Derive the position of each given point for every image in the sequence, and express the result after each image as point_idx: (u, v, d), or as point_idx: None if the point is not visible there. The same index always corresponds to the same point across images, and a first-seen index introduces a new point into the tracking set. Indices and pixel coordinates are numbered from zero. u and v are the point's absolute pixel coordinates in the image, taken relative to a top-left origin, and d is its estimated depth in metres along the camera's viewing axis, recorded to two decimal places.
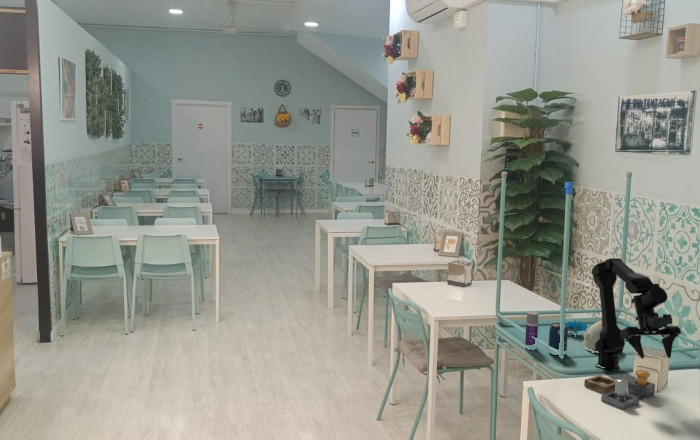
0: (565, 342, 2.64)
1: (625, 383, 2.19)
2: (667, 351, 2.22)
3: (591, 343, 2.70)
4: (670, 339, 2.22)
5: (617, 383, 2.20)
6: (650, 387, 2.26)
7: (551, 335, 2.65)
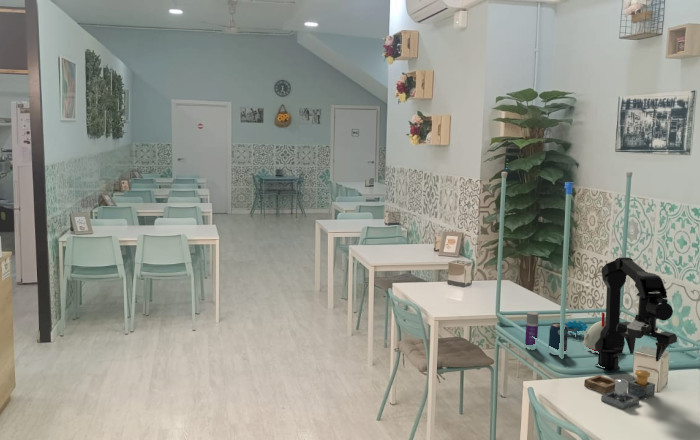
0: (565, 342, 2.64)
1: (625, 383, 2.19)
2: None
3: (591, 343, 2.70)
4: (657, 346, 2.20)
5: (617, 383, 2.20)
6: (650, 387, 2.26)
7: (551, 335, 2.65)
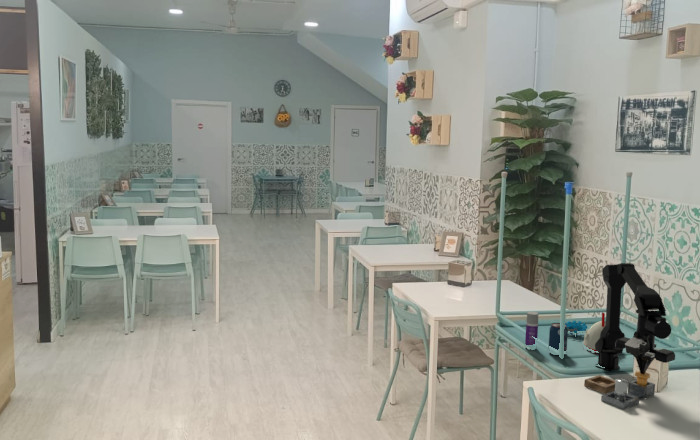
0: (565, 342, 2.64)
1: (625, 383, 2.19)
2: None
3: (591, 343, 2.70)
4: (643, 359, 2.25)
5: (617, 383, 2.20)
6: (650, 387, 2.26)
7: (551, 335, 2.65)
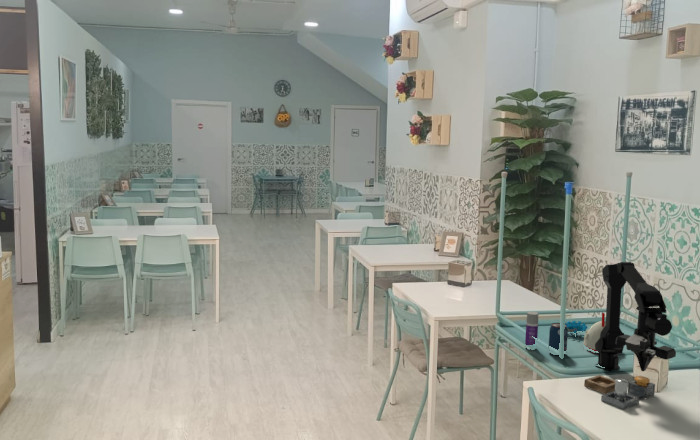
0: (565, 342, 2.64)
1: (625, 383, 2.19)
2: None
3: (591, 343, 2.70)
4: (643, 356, 2.24)
5: (617, 383, 2.20)
6: (650, 387, 2.26)
7: (551, 335, 2.65)
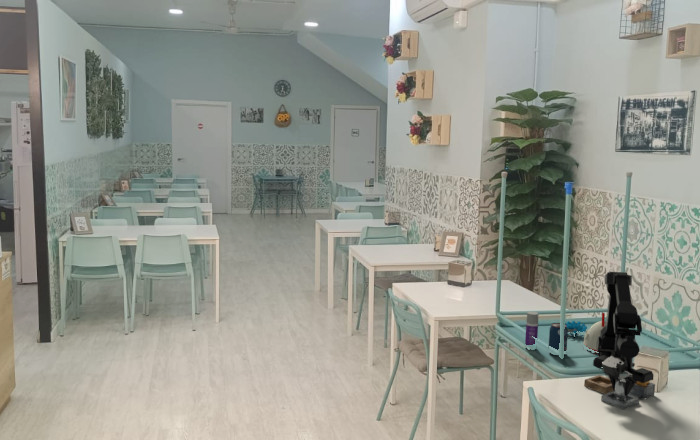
0: (565, 342, 2.64)
1: (625, 383, 2.19)
2: None
3: (591, 343, 2.70)
4: (626, 380, 2.17)
5: (617, 383, 2.20)
6: (650, 387, 2.26)
7: (551, 335, 2.65)
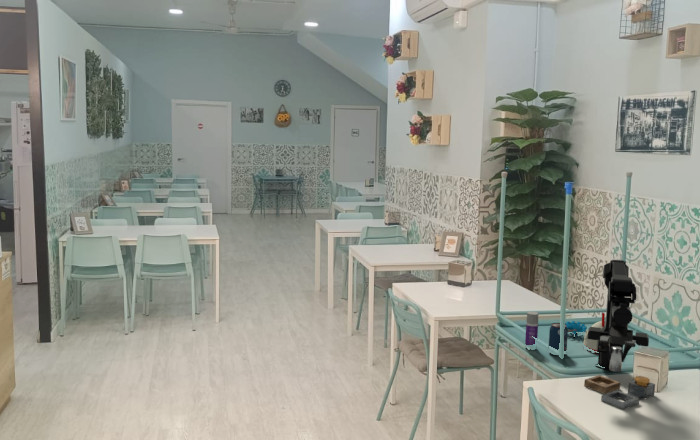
0: (565, 342, 2.64)
1: (622, 350, 2.23)
2: None
3: (591, 343, 2.70)
4: (626, 347, 2.21)
5: (616, 351, 2.22)
6: (650, 387, 2.26)
7: (551, 335, 2.65)
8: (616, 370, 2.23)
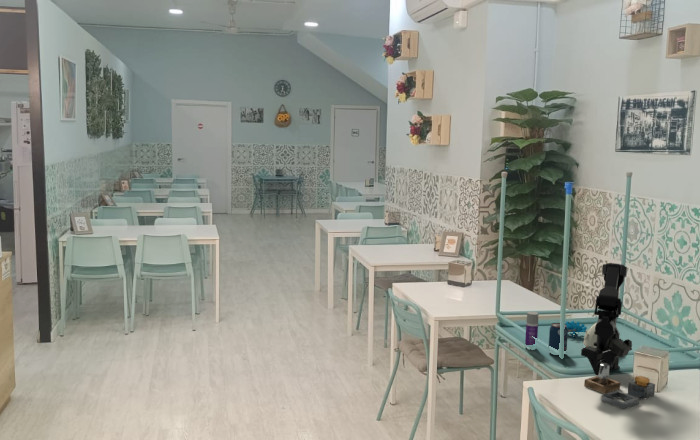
0: (565, 342, 2.64)
1: None
2: None
3: (591, 343, 2.70)
4: (616, 356, 2.33)
5: (607, 368, 2.31)
6: (650, 387, 2.26)
7: (551, 335, 2.65)
8: None
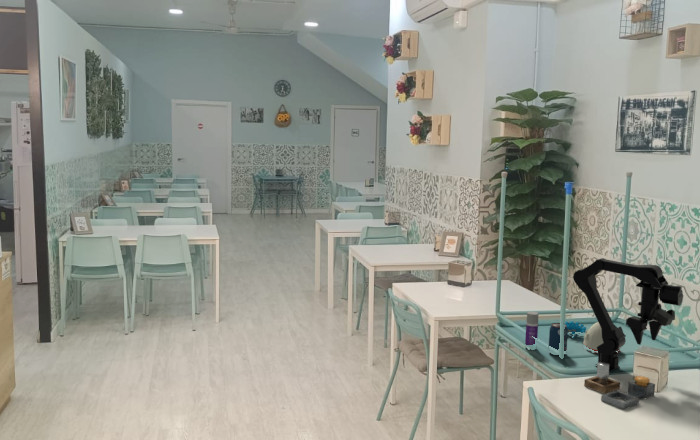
0: (565, 342, 2.64)
1: None
2: (653, 334, 2.45)
3: (591, 343, 2.70)
4: (660, 326, 2.44)
5: (607, 367, 2.31)
6: (650, 387, 2.26)
7: (551, 335, 2.65)
8: None
